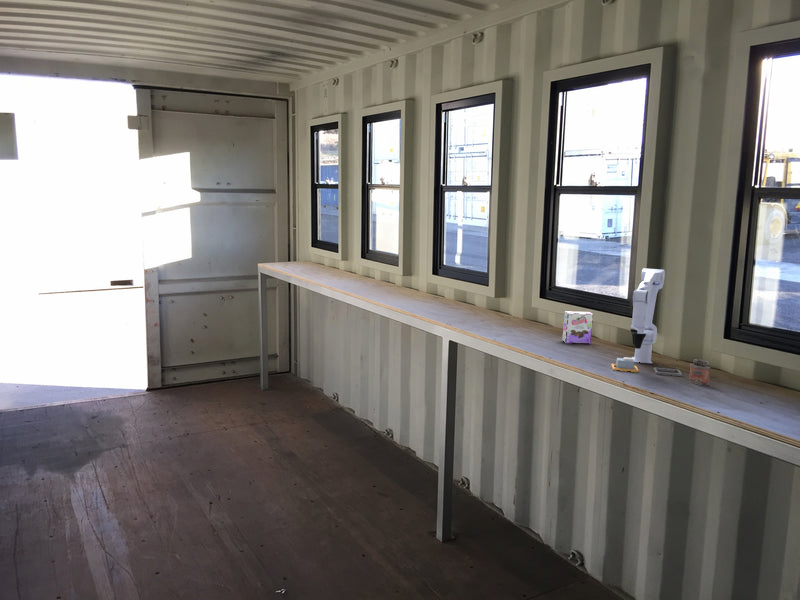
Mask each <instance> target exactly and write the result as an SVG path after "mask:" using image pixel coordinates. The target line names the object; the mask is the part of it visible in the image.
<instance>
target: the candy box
mask: <svg viewBox="0 0 800 600" xmlns="http://www.w3.org/2000/svg"><path fill="white" fill-rule="evenodd" d="M593 319H594V314H593V313H592V312H591V311H567V310H565V311H564V316H563V328H562V338H561V341H562V340H563V341H564V342H565V343H564V342H563V341H562V342H563V343H564V344H572V343H589V344H588V345H591V344H592V330H593Z"/></svg>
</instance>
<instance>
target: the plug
mask: <svg viewBox="0 0 800 600" xmlns="http://www.w3.org/2000/svg"><path fill="white" fill-rule="evenodd" d="M615 364H616V367H615V368H623V369H634V366H635V362H634V359H633V358H632V357H626V356H624V357H623V358H622V357H616V362H615ZM634 370H635V369H634Z"/></svg>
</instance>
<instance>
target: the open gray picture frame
mask: <svg viewBox="0 0 800 600" xmlns="http://www.w3.org/2000/svg"><path fill="white" fill-rule="evenodd" d="M652 370H653V371H655V372H654V373H655V375H660V374H662V375H663V376H671V375H672V376H673V377H683V373H682V372H681V371H680V370H679V369H674V368H664V367H653V369H652ZM658 370H660V371H658Z"/></svg>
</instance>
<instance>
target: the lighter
mask: <svg viewBox="0 0 800 600" xmlns="http://www.w3.org/2000/svg"><path fill="white" fill-rule="evenodd" d="M707 365H708V366H707ZM709 365H710V361H706V360H703V359H701V358H700V359H695V358H694V359H693V363H690V364H689V367H690V370H689V377H688V382H689V383H691V384H696V385H700V386H705V385H708V386H709V383H710V382H709V380H710V379H709V378H710V372H711V371H710V370H711V367H710V366H709Z"/></svg>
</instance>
